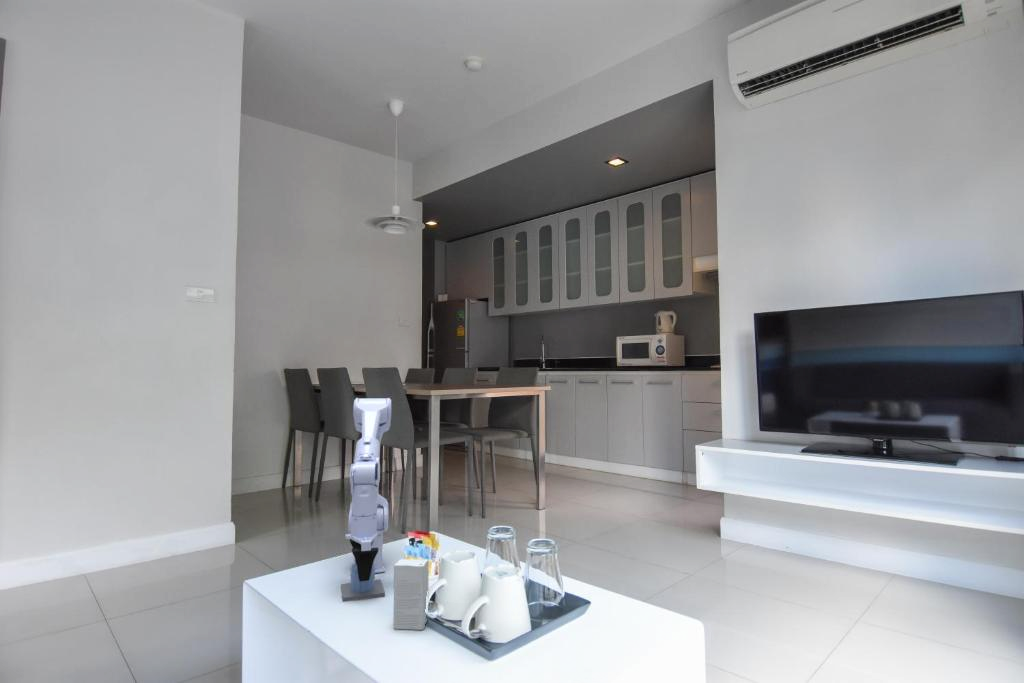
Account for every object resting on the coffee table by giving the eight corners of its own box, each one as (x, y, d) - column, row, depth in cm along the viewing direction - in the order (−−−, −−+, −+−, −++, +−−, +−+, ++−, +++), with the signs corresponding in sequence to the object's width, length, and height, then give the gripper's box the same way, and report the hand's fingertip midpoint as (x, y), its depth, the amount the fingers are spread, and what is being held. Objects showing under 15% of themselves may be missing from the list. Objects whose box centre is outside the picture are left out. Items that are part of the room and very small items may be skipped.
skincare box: (428, 621, 108) (429, 559, 109) (423, 630, 104) (424, 566, 105) (398, 620, 109) (400, 558, 110) (392, 629, 104) (393, 565, 105)
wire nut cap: (350, 585, 125) (350, 563, 126) (373, 583, 127) (373, 561, 128) (351, 593, 121) (352, 570, 121) (375, 590, 122) (375, 567, 123)
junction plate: (340, 587, 126) (341, 570, 127) (380, 582, 130) (380, 566, 130) (342, 601, 118) (343, 583, 118) (384, 596, 121) (385, 578, 121)
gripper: (344, 508, 131) (343, 567, 130) (347, 522, 117) (346, 587, 116) (374, 506, 133) (373, 564, 132) (381, 519, 120) (379, 583, 118)
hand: (362, 575), depth 124 cm, fingers open, 7 cm apart
